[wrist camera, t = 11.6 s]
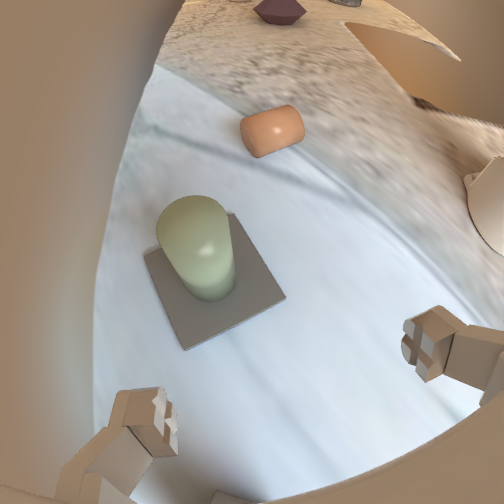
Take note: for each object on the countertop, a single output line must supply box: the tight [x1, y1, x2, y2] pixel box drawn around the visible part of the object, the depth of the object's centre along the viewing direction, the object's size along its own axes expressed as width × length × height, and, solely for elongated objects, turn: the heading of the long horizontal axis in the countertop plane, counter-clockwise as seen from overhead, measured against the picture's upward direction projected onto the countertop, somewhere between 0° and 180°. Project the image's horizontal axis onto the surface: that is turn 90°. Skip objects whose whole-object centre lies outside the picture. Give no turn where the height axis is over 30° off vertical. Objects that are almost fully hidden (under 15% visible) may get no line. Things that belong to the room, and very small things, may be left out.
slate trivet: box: [144, 213, 286, 351], centre depth 32 cm, size 12×12×1 cm
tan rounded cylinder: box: [240, 105, 305, 158], centre depth 39 cm, size 7×6×6 cm
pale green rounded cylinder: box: [156, 195, 236, 302], centre depth 27 cm, size 6×6×11 cm
